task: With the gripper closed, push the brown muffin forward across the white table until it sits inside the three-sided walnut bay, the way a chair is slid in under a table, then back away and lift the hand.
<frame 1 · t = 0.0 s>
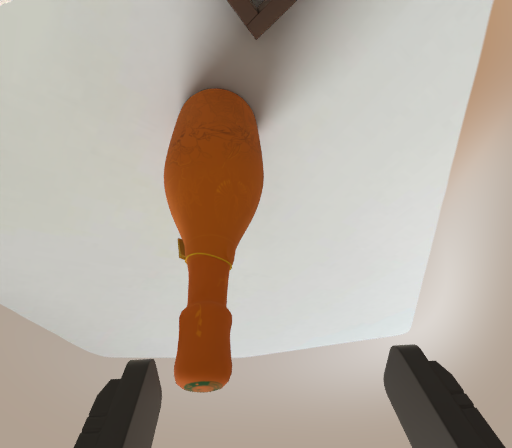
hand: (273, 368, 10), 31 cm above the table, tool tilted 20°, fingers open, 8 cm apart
wine bottle: (218, 122, 37), on the table
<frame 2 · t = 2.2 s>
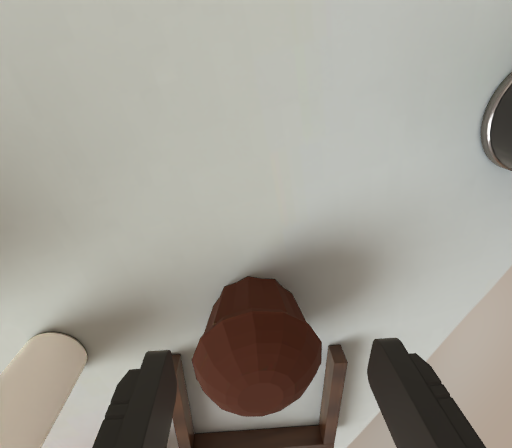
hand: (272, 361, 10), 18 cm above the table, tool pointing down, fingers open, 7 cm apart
muffin: (254, 308, 32), on the table
can: (59, 350, 33), on the table
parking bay: (256, 394, 38), on the table
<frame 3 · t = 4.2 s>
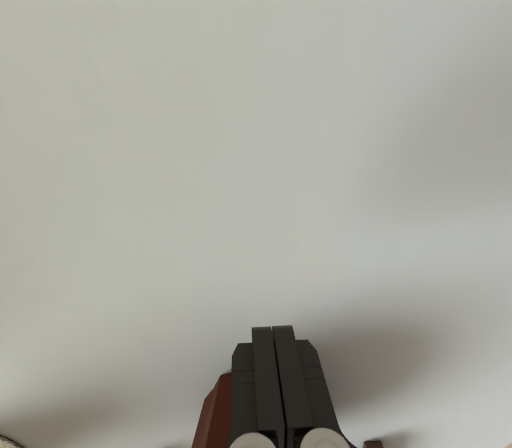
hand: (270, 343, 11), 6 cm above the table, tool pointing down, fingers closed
muffin: (262, 400, 23), on the table
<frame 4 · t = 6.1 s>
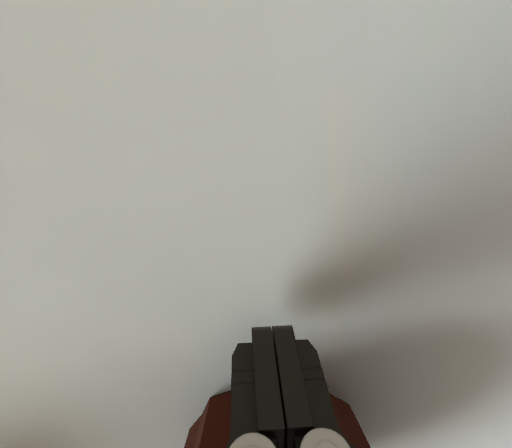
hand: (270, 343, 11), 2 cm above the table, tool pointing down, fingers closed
muffin: (271, 428, 16), on the table
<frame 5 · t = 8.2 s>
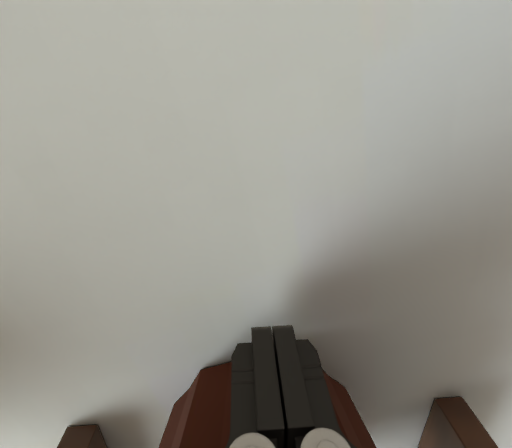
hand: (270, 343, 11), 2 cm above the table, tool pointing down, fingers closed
muffin: (260, 409, 15), on the table, touching hand
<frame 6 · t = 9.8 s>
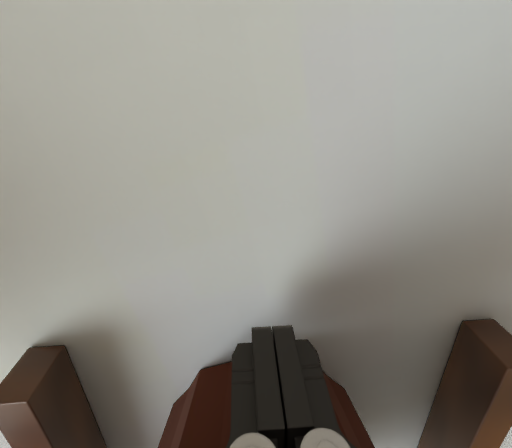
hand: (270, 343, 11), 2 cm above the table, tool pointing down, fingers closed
muffin: (259, 410, 15), on the table, touching hand
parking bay: (269, 440, 16), on the table
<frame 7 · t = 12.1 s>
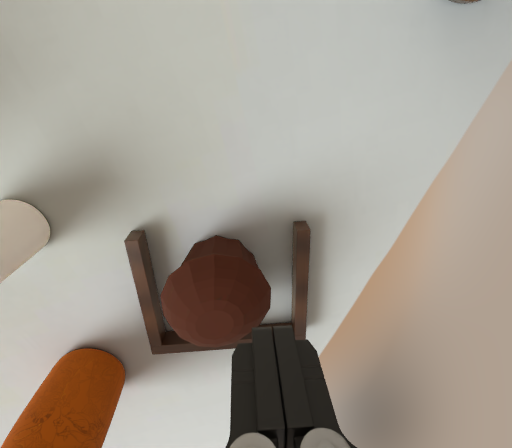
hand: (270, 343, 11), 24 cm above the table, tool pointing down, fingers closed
muffin: (219, 266, 37), on the table
can: (22, 224, 33), on the table
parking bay: (225, 282, 38), on the table
wine bottle: (94, 367, 43), on the table
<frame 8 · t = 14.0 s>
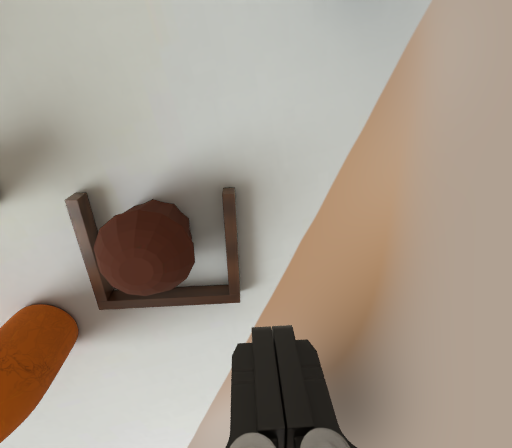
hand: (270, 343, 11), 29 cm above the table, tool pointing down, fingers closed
muffin: (159, 229, 41), on the table
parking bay: (164, 244, 42), on the table
wine bottle: (50, 323, 47), on the table
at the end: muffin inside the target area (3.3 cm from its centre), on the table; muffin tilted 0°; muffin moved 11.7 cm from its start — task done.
